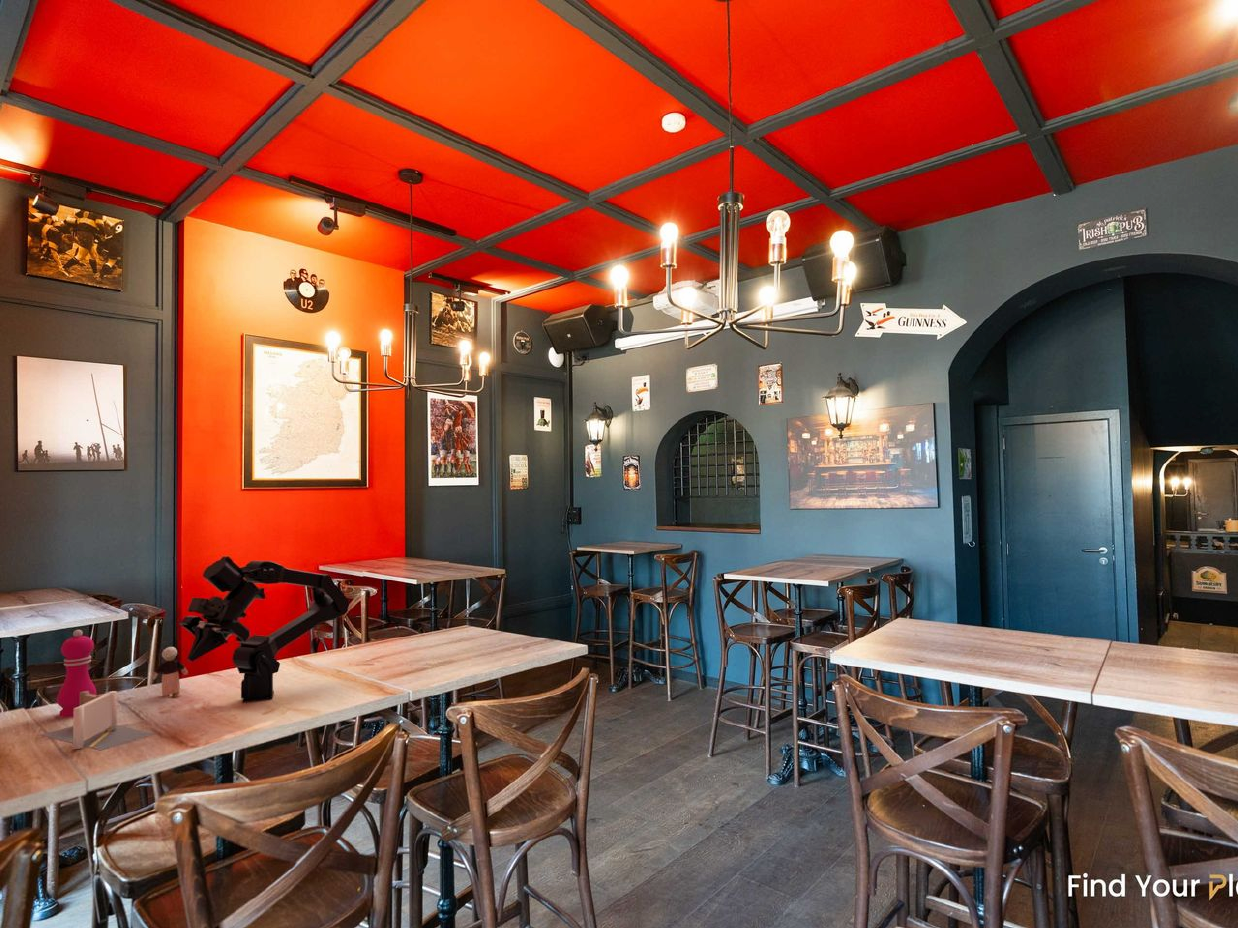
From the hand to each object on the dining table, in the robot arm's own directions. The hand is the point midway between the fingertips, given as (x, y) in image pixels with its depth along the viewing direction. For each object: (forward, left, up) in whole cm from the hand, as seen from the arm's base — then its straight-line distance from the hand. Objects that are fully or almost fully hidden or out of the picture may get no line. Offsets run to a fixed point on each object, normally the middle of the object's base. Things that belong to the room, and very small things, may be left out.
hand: (189, 660), depth 153 cm
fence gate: (+15, +9, -12) cm, 21 cm away
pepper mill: (+25, -16, -13) cm, 33 cm away
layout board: (+16, +5, -13) cm, 21 cm away
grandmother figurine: (+8, -23, -13) cm, 28 cm away
